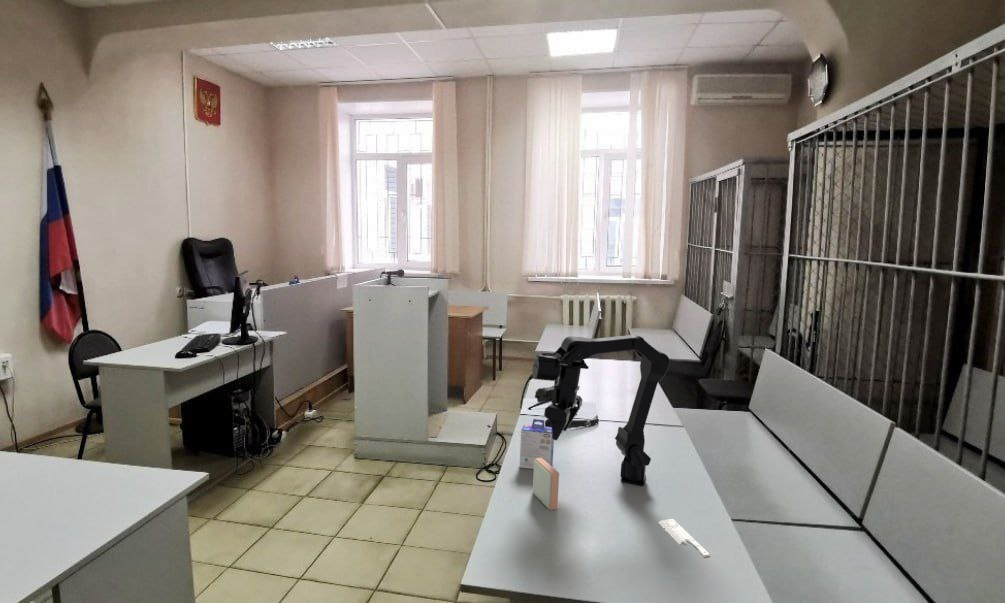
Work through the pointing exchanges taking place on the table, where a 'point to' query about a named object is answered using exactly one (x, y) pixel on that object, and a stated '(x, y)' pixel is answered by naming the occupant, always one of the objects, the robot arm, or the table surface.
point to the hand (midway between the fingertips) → (559, 435)
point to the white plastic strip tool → (681, 535)
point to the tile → (545, 483)
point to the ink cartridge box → (536, 444)
